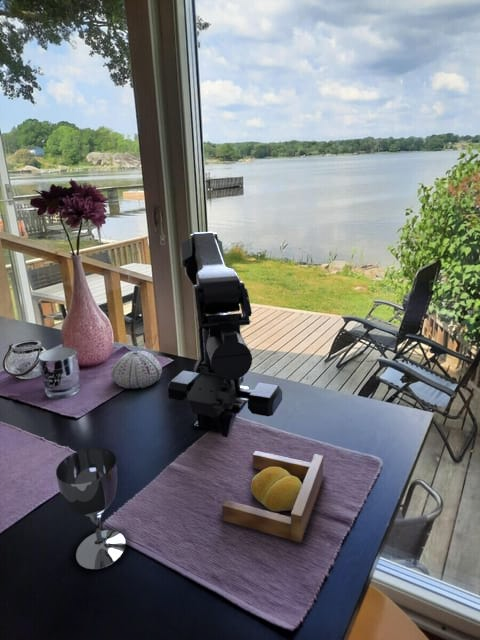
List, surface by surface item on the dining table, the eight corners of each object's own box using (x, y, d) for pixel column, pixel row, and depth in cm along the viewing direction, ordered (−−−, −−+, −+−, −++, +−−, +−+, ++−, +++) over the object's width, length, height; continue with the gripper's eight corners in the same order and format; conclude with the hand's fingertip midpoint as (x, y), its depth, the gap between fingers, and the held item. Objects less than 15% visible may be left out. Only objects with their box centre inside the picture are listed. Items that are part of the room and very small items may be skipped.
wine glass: (80, 530, 69) (65, 449, 64) (132, 526, 70) (120, 445, 65) (66, 574, 62) (47, 486, 57) (123, 569, 62) (110, 481, 57)
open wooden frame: (222, 520, 70) (221, 495, 69) (255, 463, 84) (255, 441, 82) (301, 543, 66) (301, 516, 64) (322, 479, 79) (323, 455, 77)
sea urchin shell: (165, 368, 125) (163, 342, 122) (160, 391, 112) (157, 362, 110) (118, 370, 124) (115, 344, 122) (107, 394, 112) (103, 365, 109)
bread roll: (280, 522, 70) (280, 501, 68) (243, 492, 76) (243, 473, 75) (315, 497, 74) (315, 478, 73) (278, 471, 81) (277, 453, 80)
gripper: (144, 364, 67) (154, 451, 72) (259, 382, 60) (261, 477, 65) (180, 339, 77) (186, 417, 82) (283, 352, 70) (283, 436, 75)
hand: (225, 435), depth 76 cm, fingers closed
